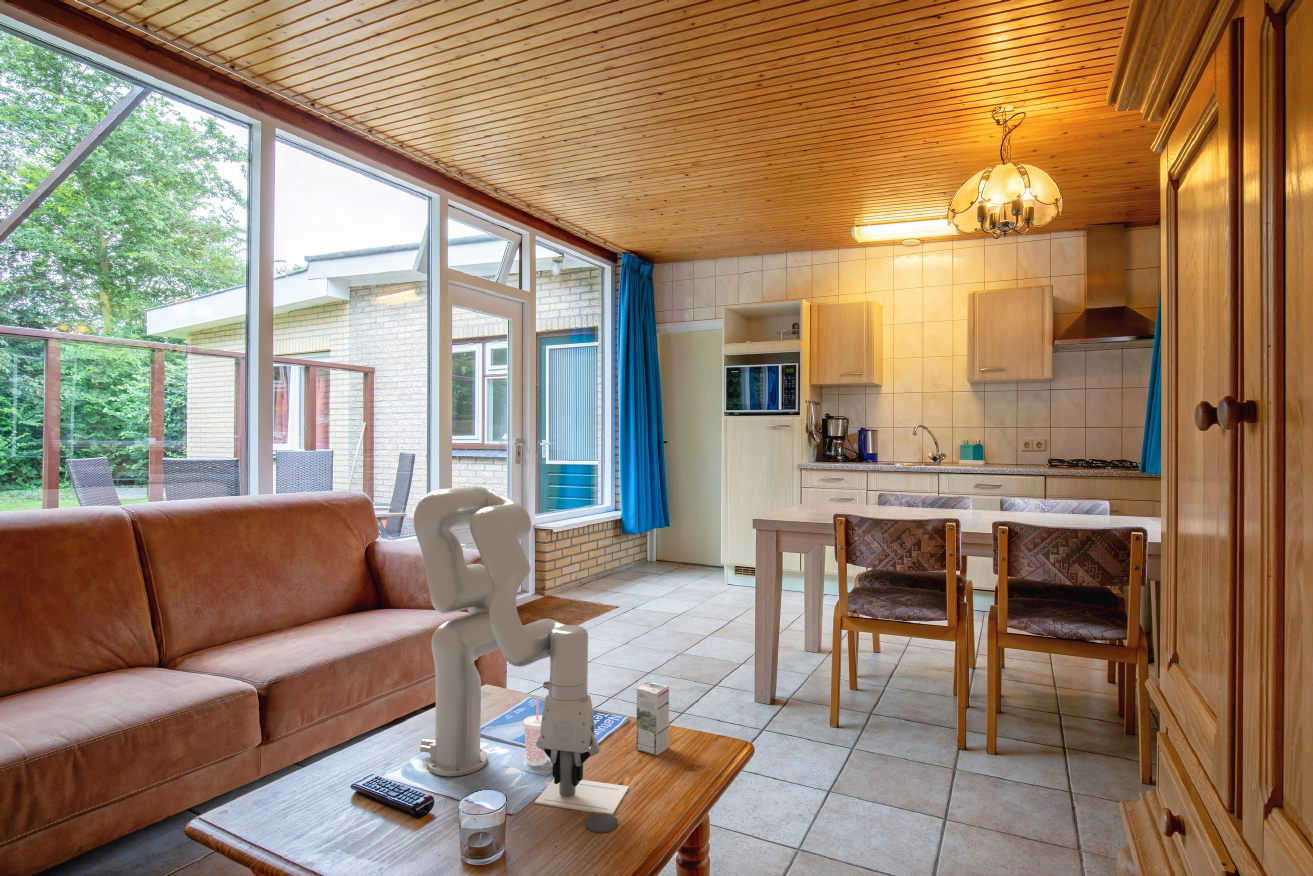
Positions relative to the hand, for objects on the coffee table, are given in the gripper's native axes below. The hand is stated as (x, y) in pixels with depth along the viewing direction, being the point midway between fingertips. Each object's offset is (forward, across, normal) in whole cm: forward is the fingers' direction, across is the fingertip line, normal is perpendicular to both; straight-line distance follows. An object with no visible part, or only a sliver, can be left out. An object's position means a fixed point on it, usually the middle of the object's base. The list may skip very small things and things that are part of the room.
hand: (567, 781), depth 142 cm
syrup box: (+3, +11, +26) cm, 28 cm away
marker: (+2, 0, 0) cm, 2 cm away
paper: (+3, +3, +1) cm, 4 cm away
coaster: (+3, +10, -8) cm, 13 cm away
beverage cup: (+3, -12, +13) cm, 18 cm away
